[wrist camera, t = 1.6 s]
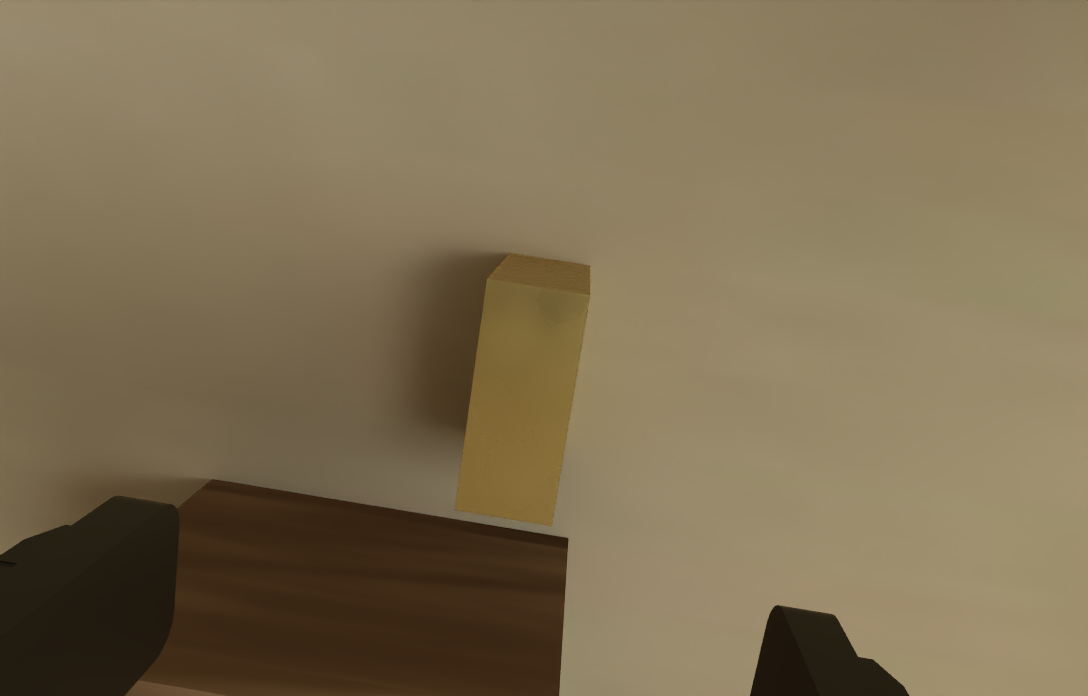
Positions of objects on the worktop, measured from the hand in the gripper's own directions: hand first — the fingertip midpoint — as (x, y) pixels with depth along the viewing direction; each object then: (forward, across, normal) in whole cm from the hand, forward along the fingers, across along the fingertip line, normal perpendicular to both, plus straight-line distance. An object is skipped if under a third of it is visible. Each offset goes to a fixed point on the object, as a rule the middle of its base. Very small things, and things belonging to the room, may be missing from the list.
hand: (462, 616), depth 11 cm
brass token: (+16, 0, 0) cm, 16 cm away
